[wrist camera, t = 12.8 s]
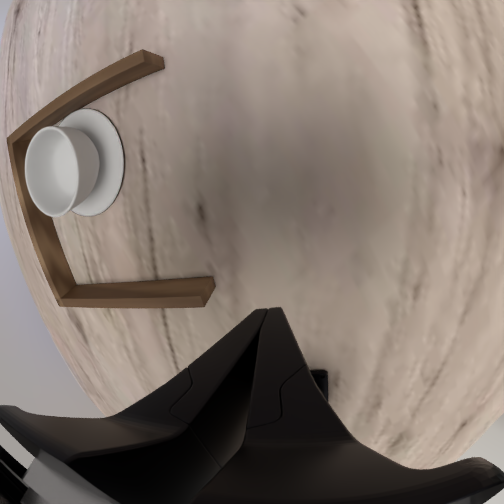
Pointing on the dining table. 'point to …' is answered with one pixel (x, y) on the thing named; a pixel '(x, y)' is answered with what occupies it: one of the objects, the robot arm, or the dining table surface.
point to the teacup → (75, 165)
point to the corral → (42, 226)
